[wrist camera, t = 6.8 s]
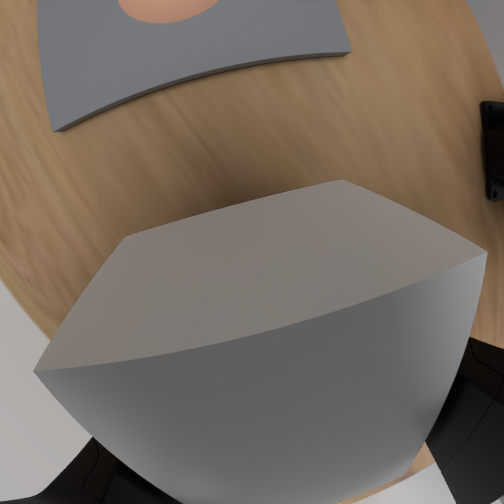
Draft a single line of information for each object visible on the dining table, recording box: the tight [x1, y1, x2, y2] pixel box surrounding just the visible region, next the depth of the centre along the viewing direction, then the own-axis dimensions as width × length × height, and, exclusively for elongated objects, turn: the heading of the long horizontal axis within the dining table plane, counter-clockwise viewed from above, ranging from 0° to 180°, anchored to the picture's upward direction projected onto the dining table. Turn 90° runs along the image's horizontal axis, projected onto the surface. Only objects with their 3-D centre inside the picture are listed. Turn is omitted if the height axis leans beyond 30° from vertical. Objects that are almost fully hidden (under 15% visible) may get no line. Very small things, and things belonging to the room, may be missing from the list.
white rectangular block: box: [34, 179, 487, 504], centre depth 7 cm, size 6×8×5 cm
